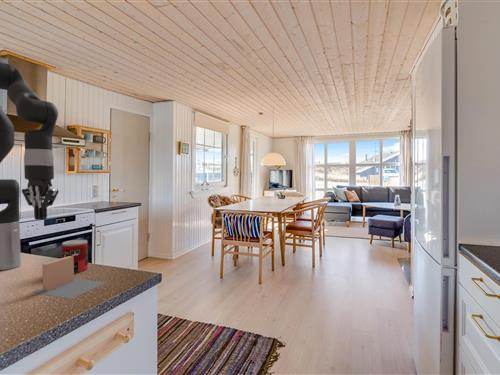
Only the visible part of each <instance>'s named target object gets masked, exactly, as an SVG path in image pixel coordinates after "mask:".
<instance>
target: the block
mask: <svg viewBox="0 0 500 375" xmlns="http://www.w3.org/2000/svg"><path fill="white" fill-rule="evenodd" d="M41 267H42V268H41V269H42V288H43V291H50V290H52V289H55V288H57V287H60V286H62V285H65V284H67V283H70V282H73V281H74V278H75V273H74V258H73V256H68V257H64V258H62V257H61V258H59V259H56V260H52V261H48V262H44V263H42V264H41Z"/></svg>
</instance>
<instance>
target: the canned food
mask: <svg viewBox="0 0 500 375" xmlns="http://www.w3.org/2000/svg"><path fill="white" fill-rule="evenodd" d="M88 244H89V243H88V240H87V239H72V240H71V239H70V240H67V241H64V242H62V243H61V256H62V257H61V258H64V257H68V256H73V258H74V274H80V273H83V272H85V271H87V270H88V269H89V253H88V252H89V250H88V249H89V248H88V247H89V245H88Z"/></svg>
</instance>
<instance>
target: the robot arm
mask: <svg viewBox="0 0 500 375" xmlns="http://www.w3.org/2000/svg"><path fill="white" fill-rule="evenodd" d="M0 90H5V91H7V92H6V93H7V96H8V99H9V100H10V101H11V103H12V104H13V105H15V106H14V107H15V109H16V111H15V112H16V115H17V117H18V118H19V119H20V120H22V121H24V122H29V123H37V124H41V126H40V128H39V129H29V130H26V131H25V132H24V136H23V137H24V138H23V139H24V154H23V164H24V165H23V167H24V168H23V170H24V179H25V180H27V181H28V182H27V187H26V188H22V189H20V184H19V182H18V180H16V179H7V178H6V179H2V178H1V179H0V205H7V206H6V207H5V208H3V209H1V210H0V271H4V270H5V271H6V270H10V269H14V268H18V267H19V266H21V265H22V264H21V263H22V262H21V232H20V231H21V229H20V224H21V223H20V194H21V193H22V195H23V197H24V198H25V201H26V203H27V205H28V206H32V208H33V213H34V214H33V215H34V220H38V221H44V220H46V219H47V218H48V207H49V206H53V205H54V202H55V200H56V198H57V196H58V195H59V192H60V190H59V189H58V188H57V189H55V188H54V187H53V183H52V180H54V178H55V171H54V170H55V166H54V155H53V136H54V131H55V127H56V123H57V120H58V117H59V111H58V108H57V106H56V105H55V104H54V103H53V102H51V101H45V100H41V99H40V97H39V96H38V95H37V93H36V92H34V91H33V90H32V89H31V88H30V87H29V85H28V84H27V82H26V79H25V77H24V76H23V74H22V73H21V71H20V70H19V68H17V67H16V66H15V65H13V64H9V63H6V62H1V61H0ZM14 145H15V127H14V124H13V122H12V121H11V119H10V118H9V116H8V115H7V114H6V113H5V111H4V109H2V107H1V106H0V164H1V163H2V161H3V160H4V159H6V157H7V156H8V155H9V154H10V152H11V151H12V150H13V148H14ZM20 190H21V193H20Z"/></svg>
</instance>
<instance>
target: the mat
mask: <svg viewBox="0 0 500 375" xmlns="http://www.w3.org/2000/svg"><path fill="white" fill-rule="evenodd" d="M105 284H106V282H104V281H99V280H98V281H97V280H92V279H91V280H89V279H83V278H76V277H74V281H73V282H70V283H67V284H65V285H62V286H60V287H57V288H55V289H52V290H50V291H43V287H40V288H39V289H36V290H33V291H31V293H33V294H39V295H45V296H52V297H56V298H62V299H69V300H71V299H74V298H75V297H79V296H80V295H82V294H85V293H87V292H89V291H91V290H93V289H96V288H98V287H100V286H102V285H105Z"/></svg>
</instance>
